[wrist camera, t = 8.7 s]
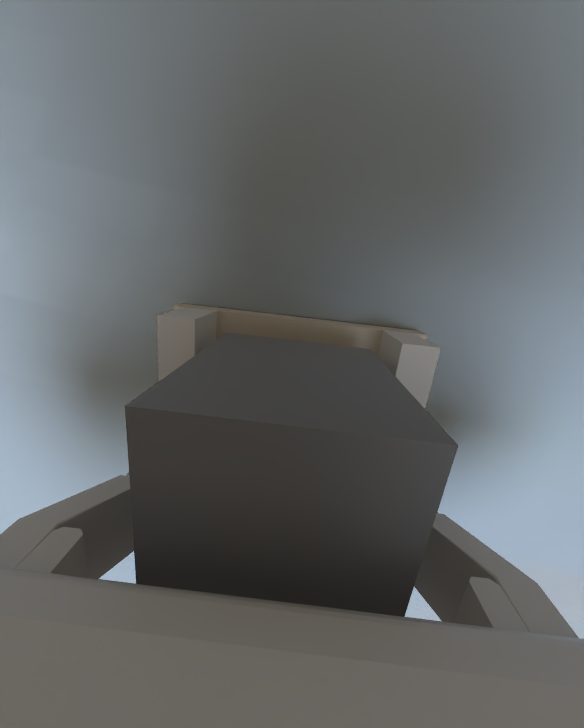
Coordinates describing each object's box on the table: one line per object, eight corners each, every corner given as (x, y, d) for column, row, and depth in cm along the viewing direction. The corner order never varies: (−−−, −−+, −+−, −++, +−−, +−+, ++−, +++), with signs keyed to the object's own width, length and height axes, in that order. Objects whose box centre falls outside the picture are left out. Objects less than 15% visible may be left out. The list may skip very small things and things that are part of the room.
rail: (182, 303, 12) (92, 322, 7) (418, 330, 12) (503, 371, 7) (182, 606, 18) (130, 747, 12) (347, 626, 17) (366, 777, 12)
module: (227, 332, 10) (124, 406, 4) (370, 348, 10) (457, 444, 4) (218, 517, 12) (145, 723, 7) (335, 531, 12) (362, 751, 7)
